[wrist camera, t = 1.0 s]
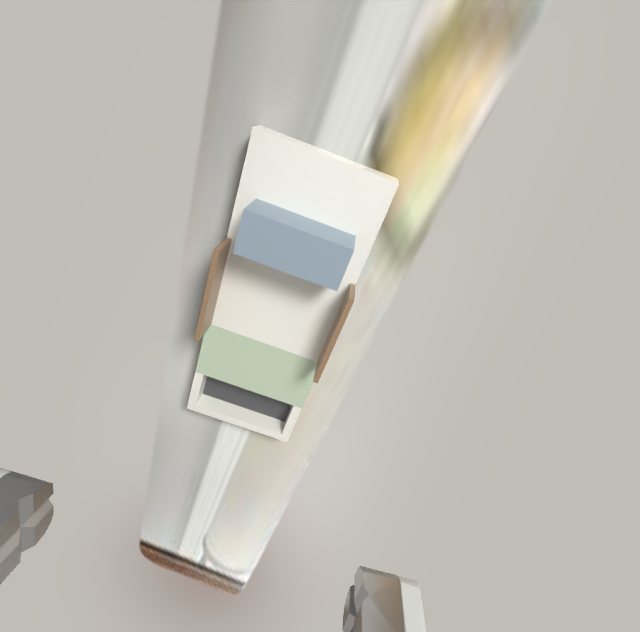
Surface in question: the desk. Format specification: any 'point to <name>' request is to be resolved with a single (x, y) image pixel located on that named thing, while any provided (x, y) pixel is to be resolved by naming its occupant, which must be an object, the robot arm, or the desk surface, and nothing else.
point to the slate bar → (294, 244)
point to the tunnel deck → (281, 287)
